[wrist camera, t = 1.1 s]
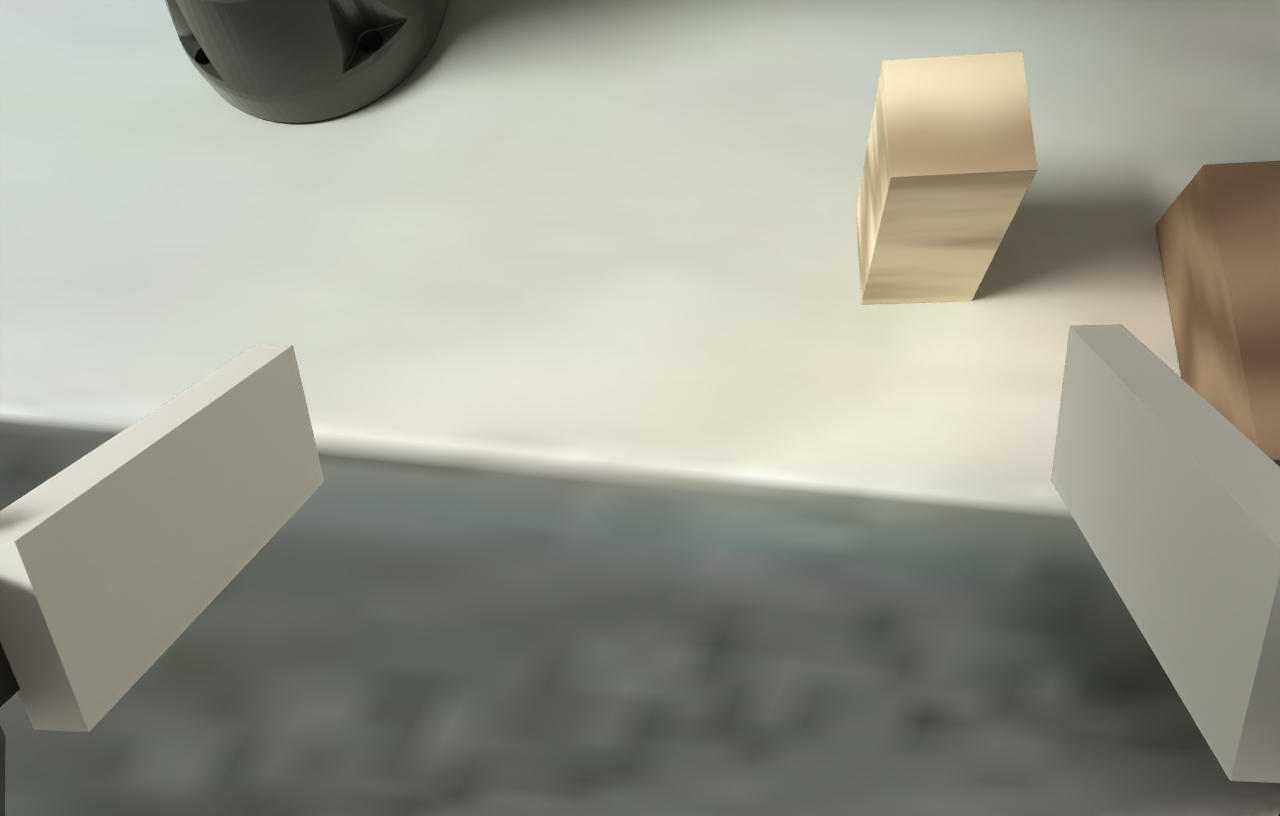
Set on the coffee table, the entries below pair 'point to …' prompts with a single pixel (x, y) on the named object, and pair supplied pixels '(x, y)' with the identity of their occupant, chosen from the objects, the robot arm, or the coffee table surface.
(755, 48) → the coffee table surface
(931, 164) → the beech block
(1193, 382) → the walnut block
